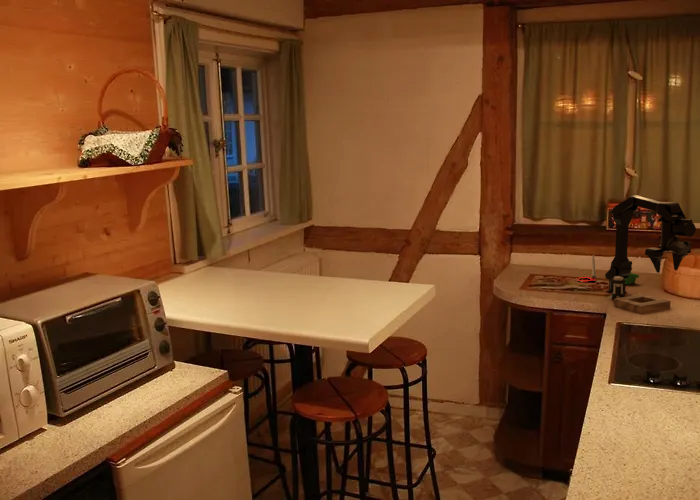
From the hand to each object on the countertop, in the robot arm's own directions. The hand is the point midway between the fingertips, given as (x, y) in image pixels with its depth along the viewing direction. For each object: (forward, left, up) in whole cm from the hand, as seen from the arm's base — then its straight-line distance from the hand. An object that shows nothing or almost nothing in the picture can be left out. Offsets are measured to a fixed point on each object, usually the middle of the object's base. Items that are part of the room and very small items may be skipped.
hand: (667, 271), depth 271 cm
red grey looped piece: (-52, +5, -15) cm, 55 cm away
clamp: (-39, +18, -15) cm, 46 cm away
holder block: (-3, -10, -14) cm, 18 cm away
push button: (-17, -10, -15) cm, 25 cm away
